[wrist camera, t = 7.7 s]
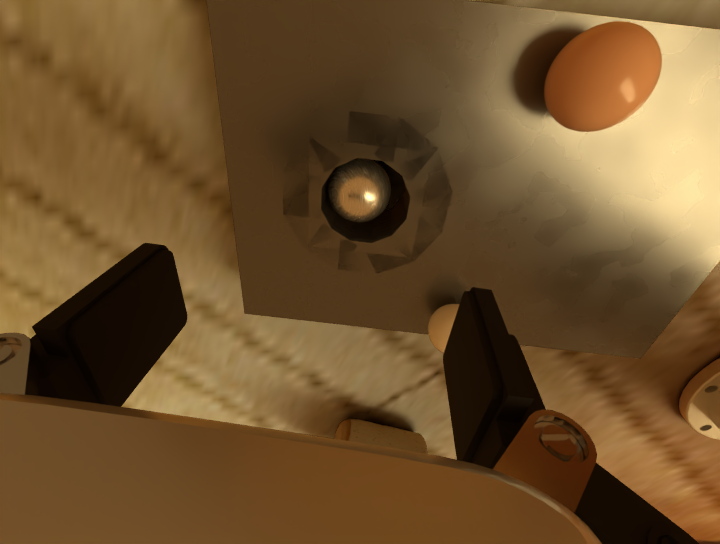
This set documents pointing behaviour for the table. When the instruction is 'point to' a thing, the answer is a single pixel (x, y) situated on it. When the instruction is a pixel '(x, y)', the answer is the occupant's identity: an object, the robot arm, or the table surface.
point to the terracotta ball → (603, 76)
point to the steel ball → (359, 190)
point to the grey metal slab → (463, 170)
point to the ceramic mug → (380, 435)
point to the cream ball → (442, 325)
